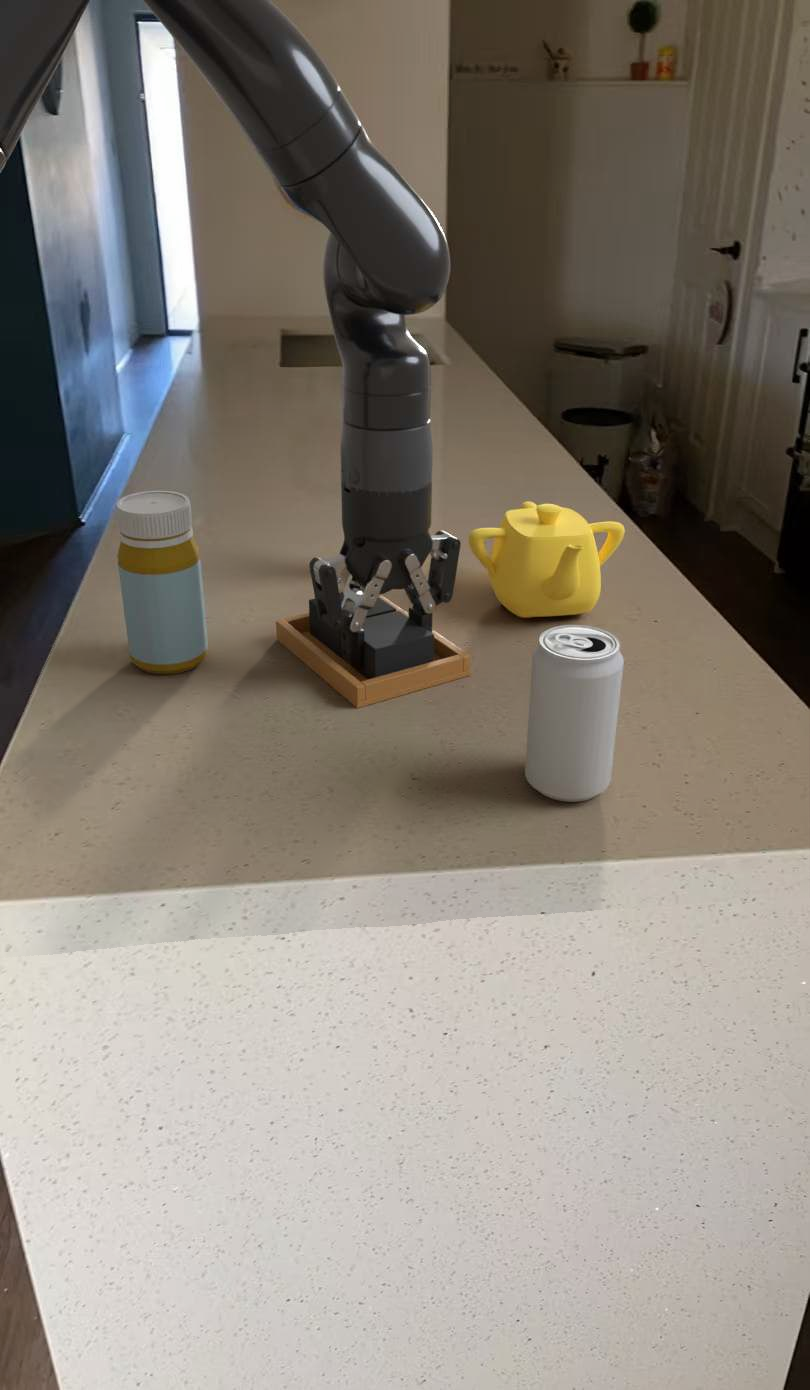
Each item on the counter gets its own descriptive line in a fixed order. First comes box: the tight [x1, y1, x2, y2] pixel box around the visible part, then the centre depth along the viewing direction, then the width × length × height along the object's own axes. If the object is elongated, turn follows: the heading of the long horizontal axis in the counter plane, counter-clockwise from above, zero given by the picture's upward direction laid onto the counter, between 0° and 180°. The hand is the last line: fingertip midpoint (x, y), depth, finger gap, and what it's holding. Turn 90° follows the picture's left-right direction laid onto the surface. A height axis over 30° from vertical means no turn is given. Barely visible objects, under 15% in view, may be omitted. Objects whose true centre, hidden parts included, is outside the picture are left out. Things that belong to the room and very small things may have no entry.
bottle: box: [115, 490, 209, 675], centre depth 96 cm, size 7×7×15 cm
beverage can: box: [524, 624, 625, 803], centre depth 79 cm, size 6×6×12 cm
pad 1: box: [308, 587, 396, 658], centre depth 102 cm, size 6×6×4 cm
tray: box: [275, 595, 472, 709], centre depth 100 cm, size 12×16×2 cm
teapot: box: [467, 501, 626, 619], centre depth 109 cm, size 14×13×10 cm
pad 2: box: [342, 611, 434, 680], centre depth 97 cm, size 6×6×4 cm
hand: (386, 655), depth 98 cm, fingers closed on pad 2, 6 cm apart
